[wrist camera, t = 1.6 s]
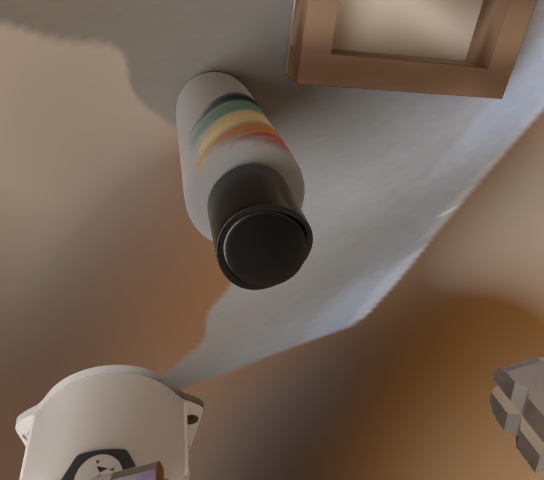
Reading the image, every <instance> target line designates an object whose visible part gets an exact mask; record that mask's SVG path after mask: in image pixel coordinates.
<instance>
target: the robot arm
mask: <svg viewBox="0 0 544 480" xmlns="http://www.w3.org/2000/svg"><path fill="white" fill-rule="evenodd" d="M163 377H164V376H162V375H160V374H158V373H156V372H154V371H151V370H149V369H145V368H141V367H136V366H130V365H105V366H98V367H93V368H89V369H85V370H82V371H80V372H77V373H75V374H72V375H70V376H68V377H67V378H65V379H63V380H62V381H60V382H59V383H58V384H56V385H55V386H54V387H53V388H52V389H51V390H50V391H49V392H48V394H47V395H46V396H45V397H44V399H43V400H42V401H41V402H40V403H39V404H38V405H36V406H34V407H32V408H30V409H28V410H26V411H25V412H24V413H22V414H20V415H19V416H18V417H17V420H16V427H15V428H16V431H17V433H18V435H19V436H20V438H21V439H22V441H23V443H24V444H25V446H26V450H25V455H24V459H23V465H22V469H21V474H20V479H19V480H189V478H190V467H189V466H188V455H189V453H190V449H191V447H192V443H193V441H194V438H195V435H196V432H197V429H198V426H199V423H200V420H201V417H202V414H203V407H204V403H203V401H202V400H201V399H199V398H197V397H195V396H193V395H190V394H187V393H184V392H182V391H181V390H179V391H176V392H173V391H172V390H171V389H169V388H168V387H167V386H165V385H164V384H162V383H160V382H159V381H160V380H161V379H162V378H163ZM494 380H495V382H496V383H497V384H498V385H497V386H496V387H495V388H494V389H493V390H492V391H491V398H490V403H491V406H492V410H493V413H494V415H495V417H496V419H497V421H498V422H499V424H500V425H501V427H502V428H503V429H504V430H505V431H506V432H508V433H511V434H512V435H514V436H516V447H517V449H518V450H519V451H520V453H521V454H522V456H523V457H524V458H525V460H526V461H527V462H528V464H529V465H530V466H531V468H532V469H533V470H534V472H535V473H536V472H540V471H544V357H541V358H537V359H531V360H528V361H524V362H521V363H517V364H514V365H510V366H507V367H503V368H500V369H498V370H497V371H496V372H495V375H494Z"/></svg>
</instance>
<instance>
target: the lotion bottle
mask: <svg viewBox="0 0 544 480" xmlns="http://www.w3.org/2000/svg"><path fill="white" fill-rule="evenodd" d="M176 121H177V131H178V140H179V150H180V160H181V170H182V179H183V189H184V197H185V202H186V207H187V211H188V214H189V216H190V218H191V220H192V222H193V223H194V225H195V226H196V228H197V229H198V230H199V231H200V232H201V233H202V234H203V235H204V236H205V237H207V238H208V239H210V240H211V241H213V243H214V248H215V253H216V258H217V262H218V264H219V267H220V269H221V271H222V272H223V274H224V275H225V276H226V277H227V278H228V279H229V280H230V281H231V282H232V283H233V284H235V285H237V286H239V287H241V288H245V289H250V290H259V289H265V288H269V287H272V286H275V285H277V284H280V283H283V282H285V281H287V280H288V279H290V278H291V277H293V276H294V275H295V274H296V273H297V272H298V271H299V269H300V268H301V266H302V264H303V263H304V262H305V260H306V259H307V257H308V255H309V253H310V251H311V247H312V243H313V234H312V230H311V228H310V225H309V223H308V221H307V219H306V218H305V216H304V214H303V212H302V210H301V207H302V204H303V200H304V180H303V176H302V173H301V170H300V168H299V166H298V164H297V162H296V160H295V159H294V157H293V155H292V154H291V152H290V151H289V149H288V148H287V146H286V145H285V143H284V142H283V141H282V139H281V138H280V136H279V135H278V133H277V132H276V130H275V129H274V127H273V126H272V124H271V123H270V122H269V120H268V119H267V117H266V116H265V114H264V113H263V111H262V110H261V108H260V107H259V106H258V104H257V103H256V101H255V100H254V98H253V97H252V95H251V94H250V92H249V91H248V90H247V89H246V87H245V86H244V85H243V84H242V83H241V82H240V81H238V80H237V79H236V78H234V77H232V76H231V75H228V74H225V73H221V72H207V73H203V74H200V75H198V76H196V77H194V78H193V79H191V80H190V81H189V82H188V83H187V84H186V85H185V86H184V88H183V89H182V91H181V92H180V95H179V97H178V100H177V105H176Z"/></svg>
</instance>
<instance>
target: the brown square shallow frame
mask: <svg viewBox="0 0 544 480" xmlns="http://www.w3.org/2000/svg"><path fill="white" fill-rule="evenodd" d="M536 2H537V0H294V3H293V11H292V20H291V28H290V37H289V45H288V53H287V62H286V70H285V74H287V75H288V76H289V77H290V78H291V79H292V80H293V81H294V82H296V83H297V84H306V85H320V86H334V87H347V88H361V89H375V90H388V91H402V92H416V93H429V94H443V95H456V96H470V97H484V98H497V99H502V98H503V95H504V92H505V89H506V86H507V84H508V81H509V78H510V75H511V72H512V70H513V67H514V64H515V61H516V58H517V55H518V53H519V50H520V47H521V44H522V41H523V39H524V36H525V33H526V30H527V27H528V24H529V22H530V19H531V16H532V13H533V10H534V8H535V5H536Z"/></svg>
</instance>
